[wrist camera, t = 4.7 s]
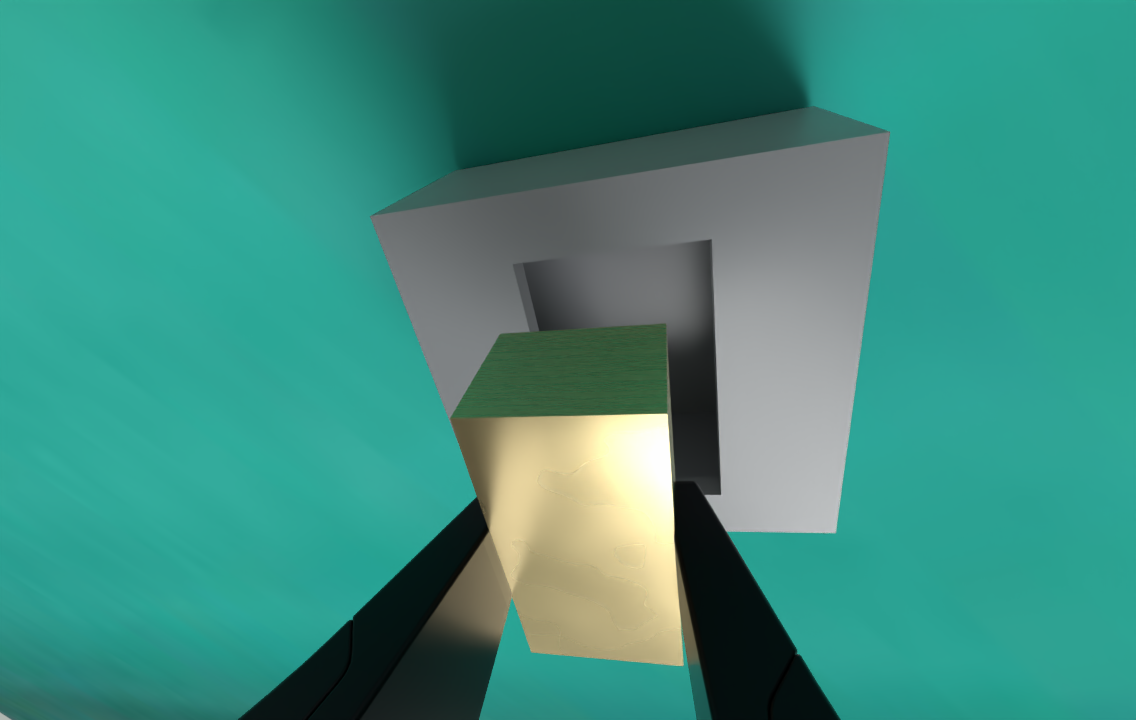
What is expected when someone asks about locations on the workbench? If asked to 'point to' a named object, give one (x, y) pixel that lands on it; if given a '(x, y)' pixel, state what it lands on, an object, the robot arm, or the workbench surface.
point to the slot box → (675, 286)
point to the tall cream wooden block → (580, 487)
